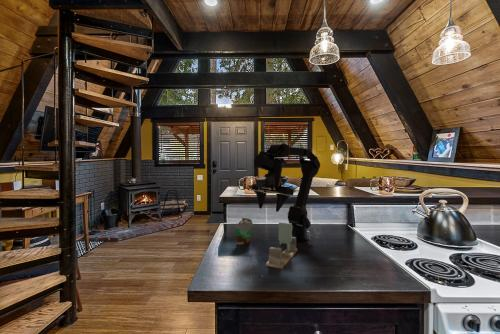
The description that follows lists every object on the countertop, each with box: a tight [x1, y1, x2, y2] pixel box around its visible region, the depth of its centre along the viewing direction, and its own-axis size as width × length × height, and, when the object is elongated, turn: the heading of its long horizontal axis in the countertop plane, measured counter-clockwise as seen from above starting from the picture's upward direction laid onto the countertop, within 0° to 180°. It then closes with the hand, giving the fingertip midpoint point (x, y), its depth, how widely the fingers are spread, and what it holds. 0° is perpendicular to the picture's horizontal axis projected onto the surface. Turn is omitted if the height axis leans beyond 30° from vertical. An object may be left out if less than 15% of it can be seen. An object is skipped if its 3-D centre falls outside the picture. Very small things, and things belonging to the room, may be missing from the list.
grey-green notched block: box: [278, 221, 292, 251], centre depth 106 cm, size 3×5×10 cm, turn 65°
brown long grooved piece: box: [265, 237, 298, 270], centre depth 104 cm, size 20×6×6 cm, turn 155°
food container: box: [235, 217, 254, 247], centre depth 121 cm, size 12×6×10 cm, turn 168°
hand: (268, 210), depth 111 cm, fingers open, 9 cm apart
